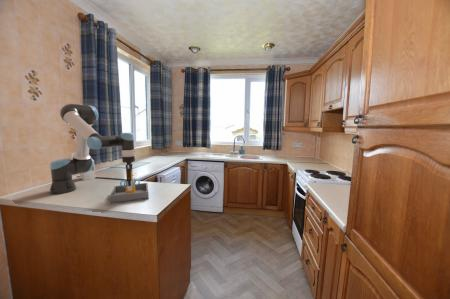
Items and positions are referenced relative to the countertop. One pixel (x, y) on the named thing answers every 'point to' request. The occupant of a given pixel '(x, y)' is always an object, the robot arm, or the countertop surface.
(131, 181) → the robot arm
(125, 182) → the orange toy
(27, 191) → the countertop surface
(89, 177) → the clear glass vessel
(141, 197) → the bin
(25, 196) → the countertop surface
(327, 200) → the countertop surface
